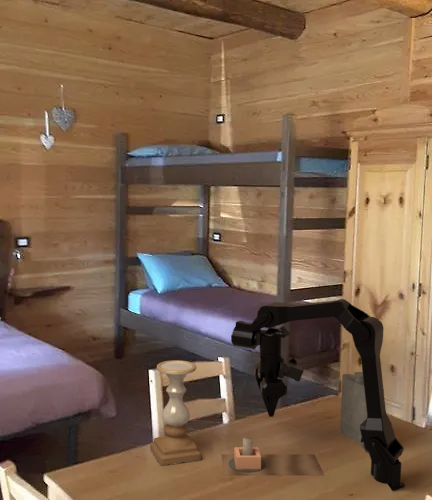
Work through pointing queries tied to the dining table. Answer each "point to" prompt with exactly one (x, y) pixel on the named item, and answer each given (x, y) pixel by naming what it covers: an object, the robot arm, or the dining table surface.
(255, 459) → the collar
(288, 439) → the dining table surface
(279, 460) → the post board
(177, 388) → the candle holder
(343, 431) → the hip flask
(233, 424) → the dining table surface
